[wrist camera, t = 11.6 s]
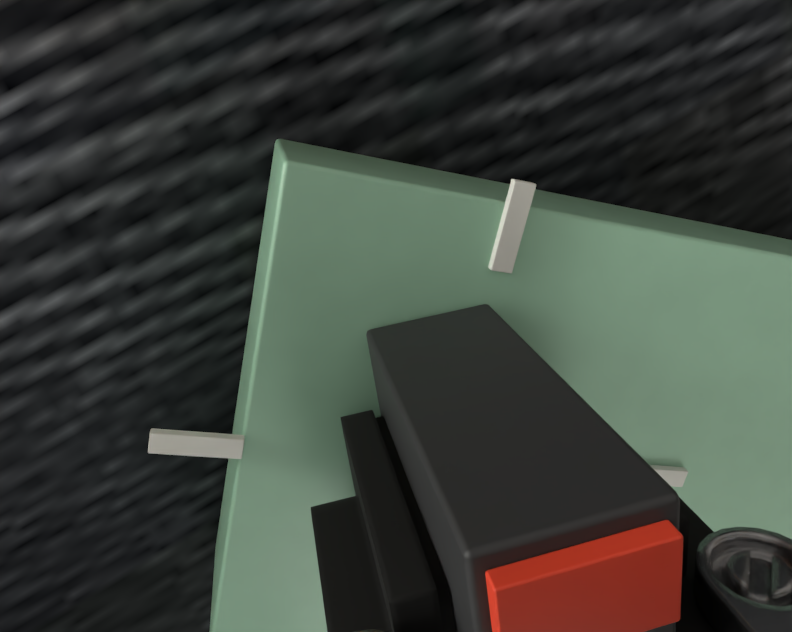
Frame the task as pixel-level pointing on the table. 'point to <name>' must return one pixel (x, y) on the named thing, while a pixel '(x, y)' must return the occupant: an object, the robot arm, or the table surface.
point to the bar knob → (524, 484)
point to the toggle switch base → (524, 312)
